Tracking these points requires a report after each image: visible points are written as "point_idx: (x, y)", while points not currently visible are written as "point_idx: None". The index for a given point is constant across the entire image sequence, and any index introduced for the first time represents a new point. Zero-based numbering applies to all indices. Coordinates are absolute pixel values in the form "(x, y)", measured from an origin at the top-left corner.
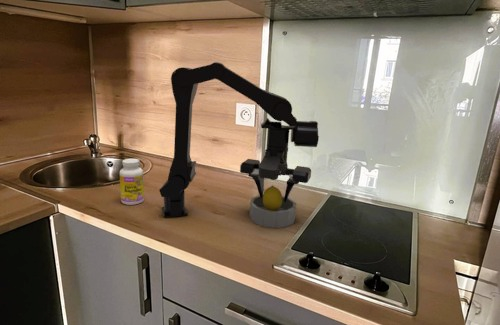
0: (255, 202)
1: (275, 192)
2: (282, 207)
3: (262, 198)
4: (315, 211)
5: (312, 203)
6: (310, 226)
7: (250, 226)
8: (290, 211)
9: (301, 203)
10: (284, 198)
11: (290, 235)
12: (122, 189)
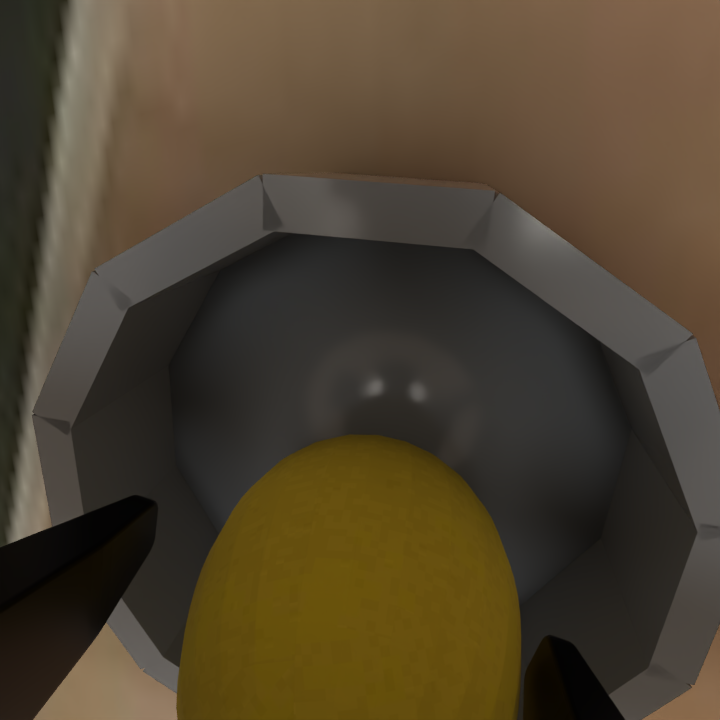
0: (609, 620)
1: (252, 676)
2: None
3: None
4: None
5: (69, 696)
6: (10, 286)
7: (660, 155)
8: (89, 310)
9: (147, 698)
10: (113, 530)
11: (161, 18)
12: None
